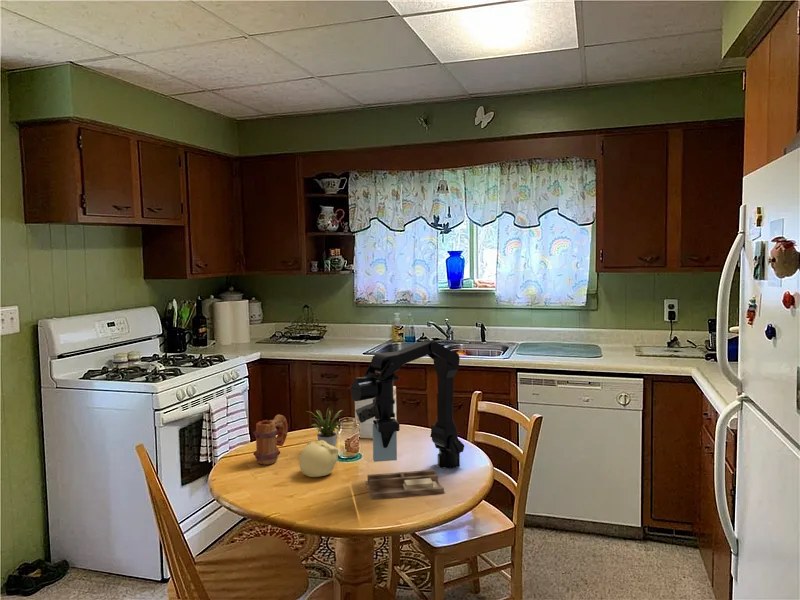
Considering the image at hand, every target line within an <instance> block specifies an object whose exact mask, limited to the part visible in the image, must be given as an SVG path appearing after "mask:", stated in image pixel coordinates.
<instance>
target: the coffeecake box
mask: <svg viewBox="0 0 800 600" xmlns="http://www.w3.org/2000/svg"><path fill="white" fill-rule="evenodd" d="M393 397H394V400H395V404H394V413H395V417H392V418H395V419H396V420H397V386H396V385H393ZM374 398H375V397H374ZM374 398H372V399H367V400H361V401H355V400H354V420H355V419H356V420H357V423H358V424H359V426H358V429H359V435H360V438H359V439H371V440H373V424H374V423H373V420H376V419H375V416H374V417H373V418H371V419H368V420H366V421H365V422H363V423H360V421H359V418H358V416H357V413H356V410H357V409H358V408H361V407H363V406H366V405H368V404H371V403H373V399H374ZM392 418H391V419H392Z"/></svg>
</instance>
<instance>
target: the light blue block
mask: <svg viewBox="0 0 800 600" xmlns="http://www.w3.org/2000/svg"><path fill="white" fill-rule="evenodd" d="M375 426H377V424H373V439H372V460H373V463H377V462H378V463H379V462H391V461H397V460H398V457H397V456H398V455H397V454H398V452H397V451H398V450H397V449H398V447H397V445H398V444H397V443H398V438H397V436H398V435H397V433H398V431H394V433H393V435H392V437H391V440H390V442H389V444H388V447H387V448H384V447H383V443H382V438H381V432H378V430H377V429H376V427H375Z"/></svg>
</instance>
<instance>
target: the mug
mask: <svg viewBox="0 0 800 600" xmlns="http://www.w3.org/2000/svg"><path fill="white" fill-rule="evenodd" d="M277 427H278V428H277ZM288 429H289V425H288V421H287V419H286V416H285V415H282V414H276V415H275V416H274V418H273V419H270V420H268V419H263V420H261V421H258V422H256V424H255V430H254V431H253V432H252V434H253V435H254V437H255V443H256V444H255V445H256V446H255V447H256V450H255V451H253V456H254V457H255V459H256V462H257V464H261V465H264V466H265V465H268V466H269V465H272V464H274V463H276V462H277V461H278V457H279V455H280V454H281V450H280V449H279V447H283V446H284V444H285V442H286V439H287V436H288ZM277 446H278V447H277Z"/></svg>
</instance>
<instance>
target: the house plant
mask: <svg viewBox="0 0 800 600" xmlns="http://www.w3.org/2000/svg"><path fill="white" fill-rule="evenodd" d="M342 411H344V409H341V410H338V411H337V413H335V415H334V416H333V417H332V419H331V416H332V414H331V413H332V411H331V409H330V406H328V408H327V410H326V416H325V419H324V418H323V414H322V412H321V411H320V410H319V409H316V414H317V415H318V416H317V415H314V413H313V412H312V411H308V410H307V413H311V414H312V415H314V417H315V418H314V417H313V418H310V419H313V420H315V421H316V423H317V424H316V423H312V424H311V427H312V426H313V427H315V428H316V429H317V434H316V435H317V436H316V437H317V441H320V440H324V441H326V442H327V443H328V444H330V445H332V446H335V447H336V445H337V437H338V434H337V432H335V431H336V430H337V431H340V430H339V429H340V427H339V425H340V423H339V422H340V421H337V422H335V420H336V419H337V418H338V417H339V416H340V413H341V412H342Z"/></svg>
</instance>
